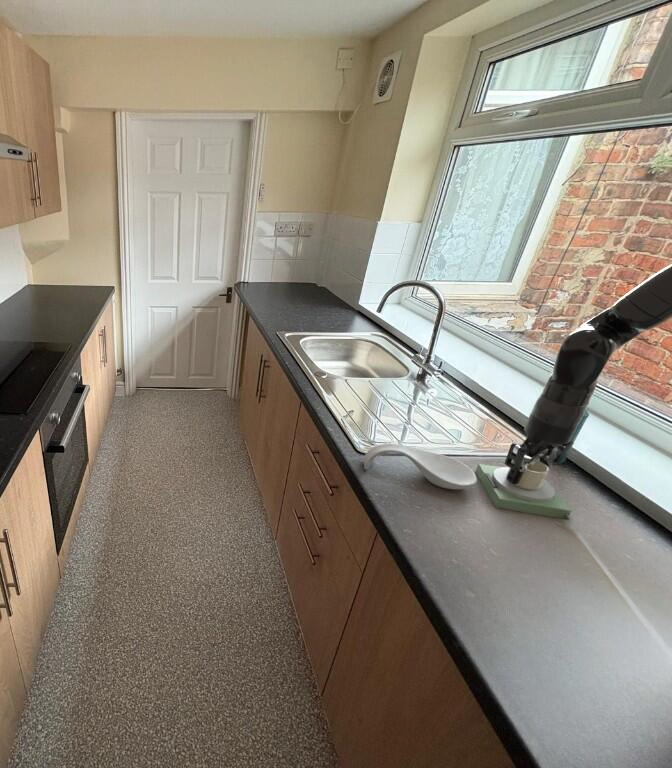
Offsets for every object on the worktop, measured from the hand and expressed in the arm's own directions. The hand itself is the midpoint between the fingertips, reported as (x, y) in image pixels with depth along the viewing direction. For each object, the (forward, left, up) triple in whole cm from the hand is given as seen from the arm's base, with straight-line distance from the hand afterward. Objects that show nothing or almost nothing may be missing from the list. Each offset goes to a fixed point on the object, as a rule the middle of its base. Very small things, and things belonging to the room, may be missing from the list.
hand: (524, 479), depth 94 cm
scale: (0, 0, -4) cm, 4 cm away
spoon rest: (+21, -1, -4) cm, 21 cm away
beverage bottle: (-12, -16, -4) cm, 21 cm away
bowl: (0, 0, -1) cm, 1 cm away
